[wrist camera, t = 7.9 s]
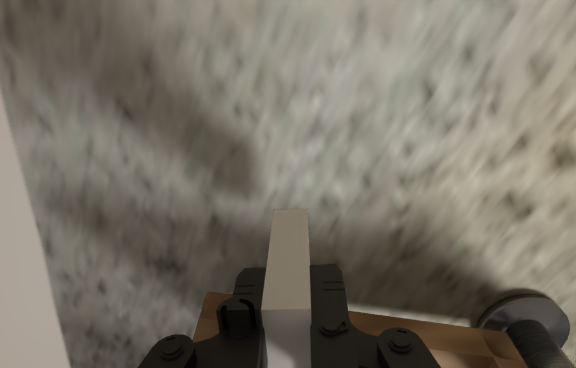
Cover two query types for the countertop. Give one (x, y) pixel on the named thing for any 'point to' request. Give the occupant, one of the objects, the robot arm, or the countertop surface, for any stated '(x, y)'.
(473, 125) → the countertop surface
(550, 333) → the hinge post
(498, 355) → the gate
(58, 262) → the countertop surface
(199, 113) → the countertop surface
